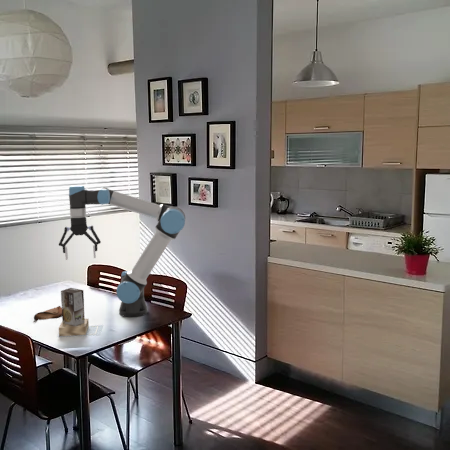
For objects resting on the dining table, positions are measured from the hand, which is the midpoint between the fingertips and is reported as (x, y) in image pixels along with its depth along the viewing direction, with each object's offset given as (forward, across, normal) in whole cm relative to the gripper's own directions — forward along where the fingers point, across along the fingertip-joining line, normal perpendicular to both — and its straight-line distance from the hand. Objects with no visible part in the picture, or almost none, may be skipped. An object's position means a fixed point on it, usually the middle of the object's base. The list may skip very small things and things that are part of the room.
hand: (80, 258), depth 253 cm
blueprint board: (+33, +1, +17) cm, 37 cm away
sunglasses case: (+33, +17, -12) cm, 39 cm away
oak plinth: (+32, +4, +17) cm, 36 cm away
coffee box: (+28, +4, +16) cm, 33 cm away
